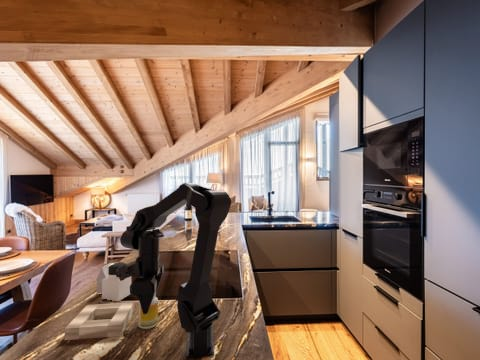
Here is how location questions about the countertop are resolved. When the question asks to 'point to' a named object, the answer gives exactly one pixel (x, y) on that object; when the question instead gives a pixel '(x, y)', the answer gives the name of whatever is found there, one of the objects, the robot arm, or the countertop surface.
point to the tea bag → (102, 277)
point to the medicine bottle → (115, 284)
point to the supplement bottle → (148, 315)
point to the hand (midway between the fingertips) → (148, 306)
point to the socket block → (100, 321)
